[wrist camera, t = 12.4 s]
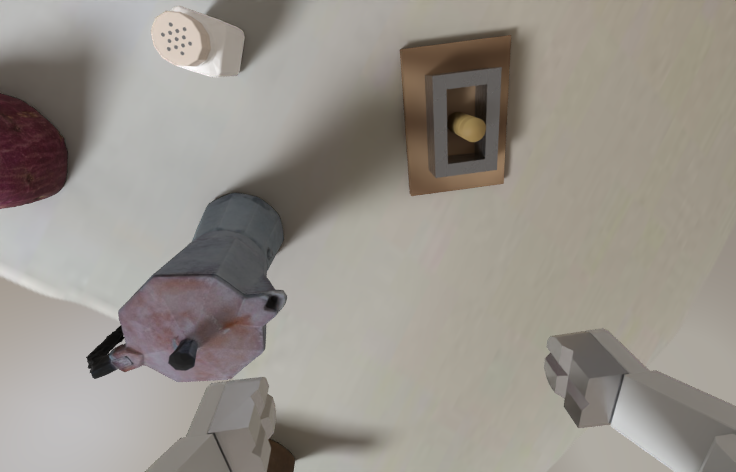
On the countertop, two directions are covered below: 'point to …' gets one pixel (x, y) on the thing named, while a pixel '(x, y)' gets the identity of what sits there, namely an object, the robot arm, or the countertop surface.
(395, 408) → the countertop surface
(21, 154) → the vegetable
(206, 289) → the moka pot
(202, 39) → the pepper shaker
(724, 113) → the countertop surface
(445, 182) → the keeper
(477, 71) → the link
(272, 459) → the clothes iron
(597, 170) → the countertop surface
